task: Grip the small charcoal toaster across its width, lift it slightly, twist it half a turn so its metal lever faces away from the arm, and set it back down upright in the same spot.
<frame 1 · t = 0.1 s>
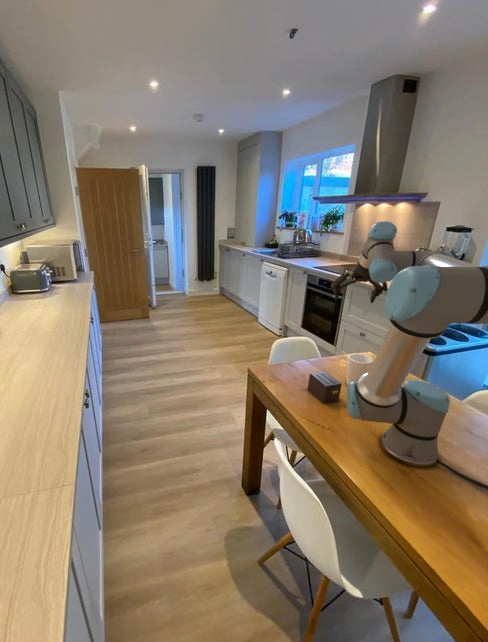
hand: (353, 299, 134), 36 cm above the table, tool tilted 35°, fingers open, 13 cm apart
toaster: (330, 402, 129), on the table
foam cup: (354, 385, 141), on the table
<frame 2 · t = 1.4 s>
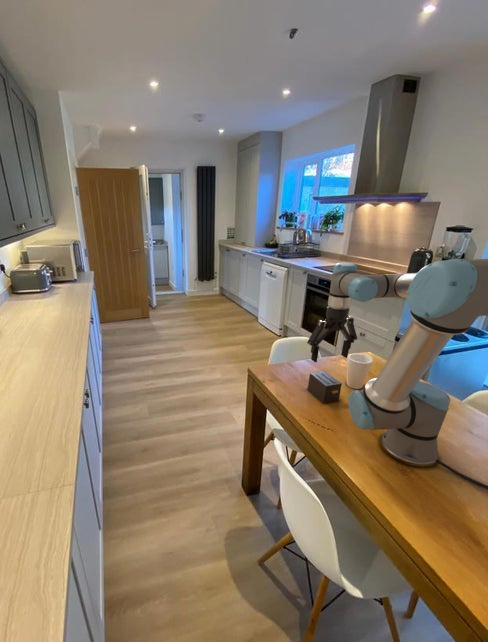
hand: (329, 358, 127), 17 cm above the table, tool pointing down, fingers open, 13 cm apart
nothing on the table moved.
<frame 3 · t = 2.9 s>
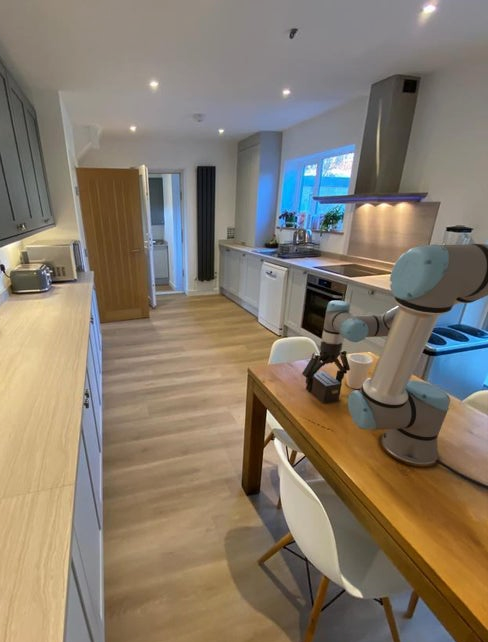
hand: (323, 388, 133), 3 cm above the table, tool pointing down, fingers open, 13 cm apart
nothing on the table moved.
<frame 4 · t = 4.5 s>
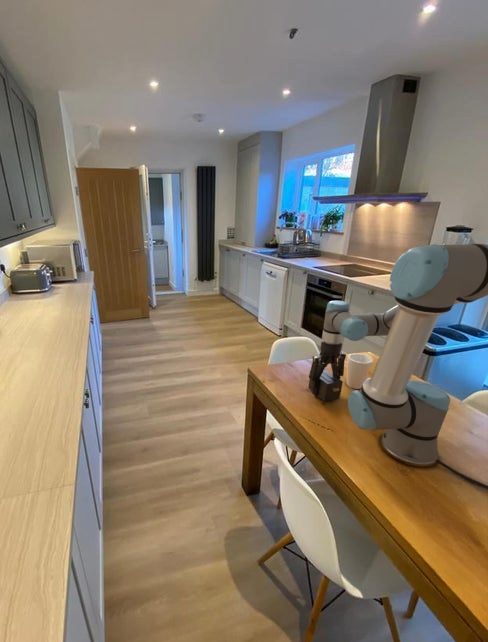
hand: (323, 392, 133), 1 cm above the table, tool pointing down, fingers closed on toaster, 7 cm apart
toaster: (331, 400, 128), point 1 cm above the table, touching gripper
everything else where it was.
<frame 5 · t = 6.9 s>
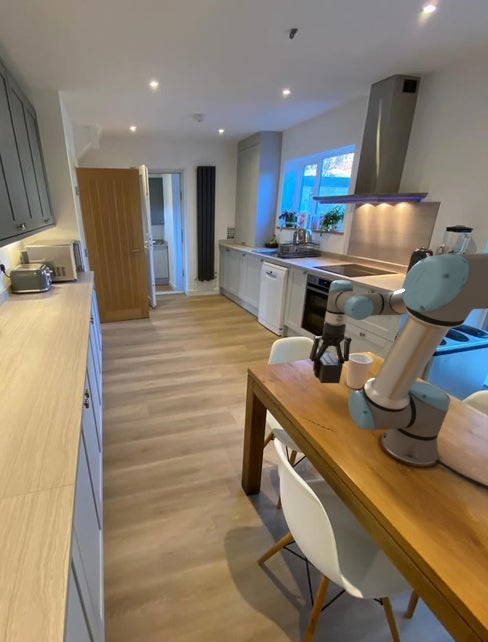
hand: (325, 376, 130), 9 cm above the table, tool pointing down, fingers closed on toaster, 7 cm apart
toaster: (321, 370, 136), point 9 cm above the table, touching gripper
everything else where it was.
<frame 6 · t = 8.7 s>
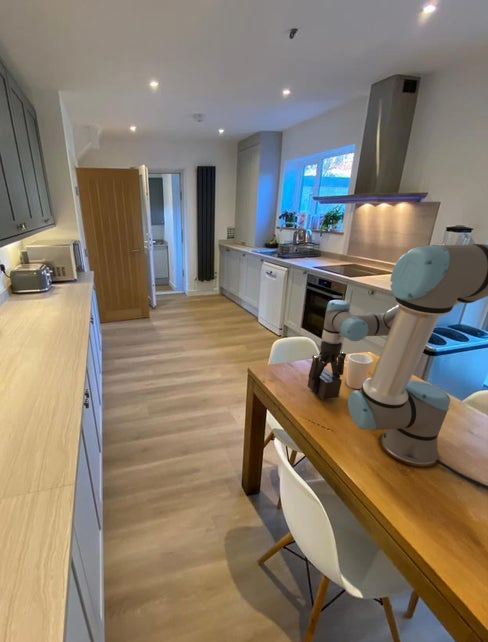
hand: (322, 391, 134), 2 cm above the table, tool pointing down, fingers closed on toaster, 7 cm apart
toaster: (314, 385, 139), point 1 cm above the table, touching gripper
everything else where it was.
when the fingers open (0 cm above the table, at t = 9.5 s): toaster stays where it is, on the table.
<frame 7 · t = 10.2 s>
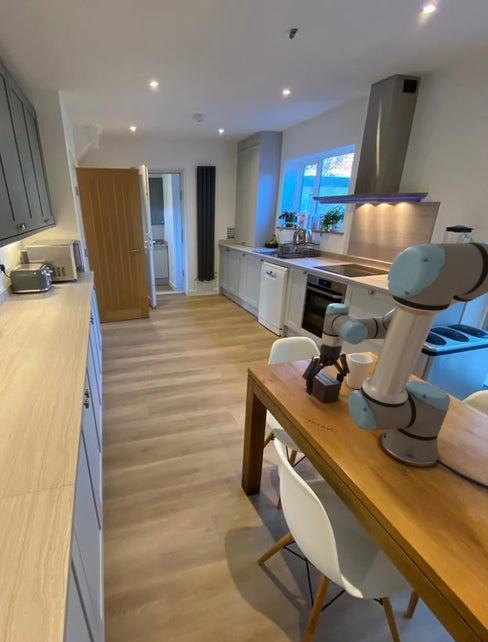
hand: (323, 391, 133), 2 cm above the table, tool pointing down, fingers open, 13 cm apart
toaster: (314, 387, 139), on the table
everything else where it was.
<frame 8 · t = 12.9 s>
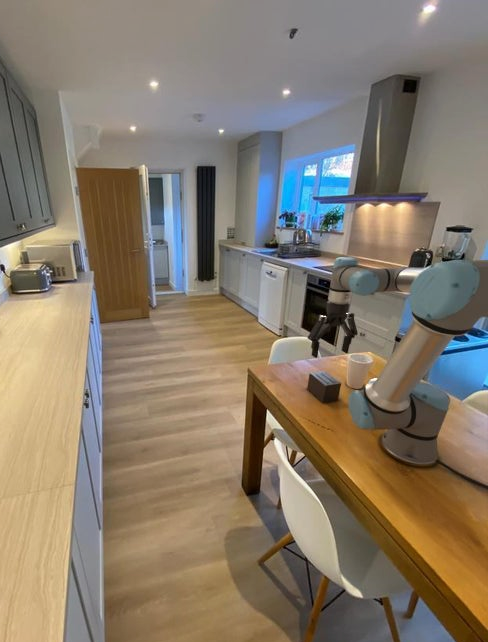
hand: (329, 354, 126), 19 cm above the table, tool pointing down, fingers open, 13 cm apart
nothing on the table moved.
at the end: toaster inside the target area (0.0 cm from its centre), on the table; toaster tilted 0°; the gripper is holding nothing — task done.
